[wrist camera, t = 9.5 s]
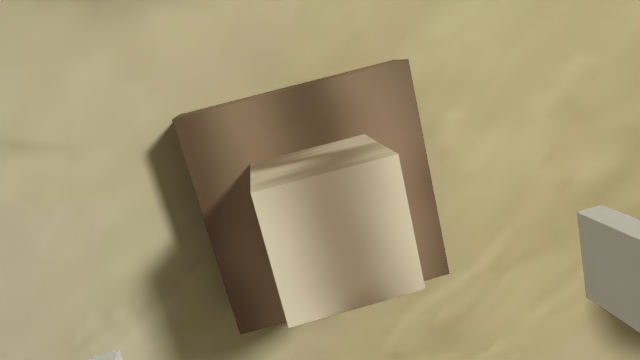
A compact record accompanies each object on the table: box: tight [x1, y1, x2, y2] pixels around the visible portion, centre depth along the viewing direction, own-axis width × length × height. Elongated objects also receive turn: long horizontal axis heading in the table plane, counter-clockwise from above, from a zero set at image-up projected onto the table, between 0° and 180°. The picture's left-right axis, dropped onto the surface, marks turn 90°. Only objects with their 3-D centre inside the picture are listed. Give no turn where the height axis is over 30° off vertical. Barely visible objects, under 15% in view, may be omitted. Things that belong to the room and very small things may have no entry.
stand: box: [172, 59, 449, 335], centre depth 27 cm, size 12×12×2 cm
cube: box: [250, 134, 425, 328], centre depth 23 cm, size 6×6×6 cm
